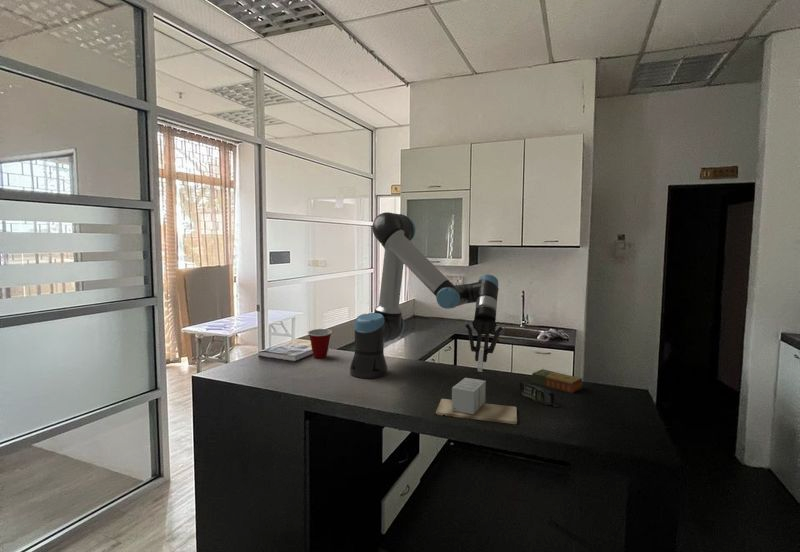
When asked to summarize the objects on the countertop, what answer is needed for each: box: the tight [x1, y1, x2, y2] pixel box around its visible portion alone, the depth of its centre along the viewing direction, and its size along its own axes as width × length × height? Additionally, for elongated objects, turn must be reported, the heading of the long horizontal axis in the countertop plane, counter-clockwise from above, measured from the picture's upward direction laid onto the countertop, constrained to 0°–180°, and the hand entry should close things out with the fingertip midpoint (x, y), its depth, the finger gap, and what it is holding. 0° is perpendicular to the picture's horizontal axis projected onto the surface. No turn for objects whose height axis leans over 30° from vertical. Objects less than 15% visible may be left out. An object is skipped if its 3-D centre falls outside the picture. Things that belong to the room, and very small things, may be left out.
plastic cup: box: [307, 328, 333, 359], centre depth 192 cm, size 11×11×12 cm
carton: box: [531, 368, 583, 394], centre depth 159 cm, size 8×16×4 cm, turn 43°
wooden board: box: [435, 398, 518, 425], centre depth 131 cm, size 24×12×1 cm, turn 75°
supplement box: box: [451, 377, 487, 414], centre depth 133 cm, size 7×7×13 cm
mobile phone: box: [519, 381, 559, 408], centre depth 143 cm, size 5×3×15 cm
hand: (479, 369), depth 138 cm, fingers closed
